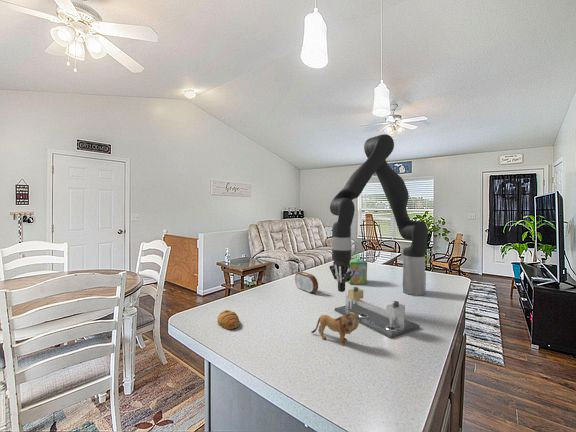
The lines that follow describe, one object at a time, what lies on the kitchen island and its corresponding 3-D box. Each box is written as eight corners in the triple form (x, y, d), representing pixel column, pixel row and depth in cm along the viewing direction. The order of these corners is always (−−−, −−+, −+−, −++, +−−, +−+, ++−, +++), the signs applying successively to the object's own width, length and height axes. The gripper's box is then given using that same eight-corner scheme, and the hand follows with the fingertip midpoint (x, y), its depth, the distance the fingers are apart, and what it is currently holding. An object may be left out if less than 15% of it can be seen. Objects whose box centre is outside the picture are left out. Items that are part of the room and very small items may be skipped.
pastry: (244, 327, 92) (244, 316, 92) (224, 332, 88) (224, 321, 88) (233, 318, 100) (233, 307, 100) (215, 322, 96) (215, 311, 96)
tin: (318, 294, 127) (318, 275, 126) (313, 295, 125) (313, 276, 125) (299, 286, 139) (299, 269, 139) (293, 287, 137) (293, 270, 137)
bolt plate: (361, 304, 113) (361, 301, 113) (419, 328, 91) (419, 324, 91) (334, 310, 106) (334, 307, 106) (390, 338, 84) (390, 334, 84)
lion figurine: (360, 340, 83) (360, 310, 82) (356, 348, 78) (356, 317, 78) (314, 331, 89) (314, 303, 89) (307, 337, 84) (307, 308, 84)
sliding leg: (357, 305, 107) (357, 285, 107) (363, 307, 105) (363, 287, 105) (347, 307, 105) (347, 287, 105) (353, 310, 102) (353, 289, 102)
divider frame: (352, 304, 110) (352, 284, 110) (407, 328, 88) (407, 302, 88) (342, 306, 108) (342, 285, 107) (396, 331, 86) (397, 305, 86)
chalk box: (344, 280, 151) (344, 252, 150) (360, 279, 152) (361, 252, 151) (350, 284, 142) (350, 255, 141) (367, 284, 143) (367, 255, 142)
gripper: (360, 249, 107) (360, 294, 108) (338, 245, 119) (337, 285, 119) (345, 251, 103) (345, 297, 104) (323, 246, 115) (323, 288, 115)
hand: (341, 291), depth 112 cm, fingers closed
